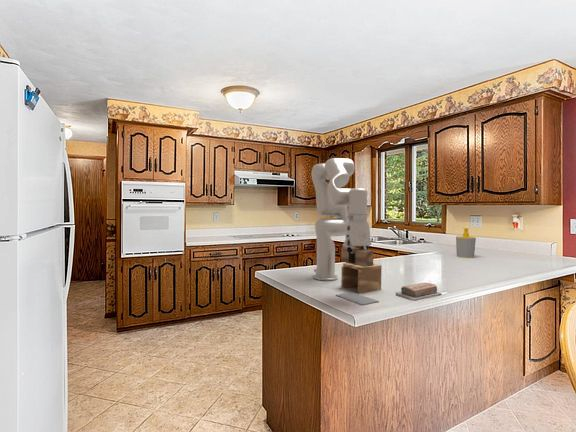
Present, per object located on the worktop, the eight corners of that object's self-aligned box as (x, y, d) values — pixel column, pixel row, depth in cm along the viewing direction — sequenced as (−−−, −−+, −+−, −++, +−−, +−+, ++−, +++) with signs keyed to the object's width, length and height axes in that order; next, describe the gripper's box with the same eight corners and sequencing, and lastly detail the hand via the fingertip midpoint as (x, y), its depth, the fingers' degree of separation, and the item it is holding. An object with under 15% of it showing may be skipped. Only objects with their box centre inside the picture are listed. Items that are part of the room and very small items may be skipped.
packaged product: (422, 280, 160) (441, 285, 151) (422, 290, 160) (441, 296, 151) (395, 285, 150) (414, 290, 142) (394, 296, 151) (413, 302, 142)
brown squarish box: (341, 287, 164) (341, 263, 163) (362, 283, 170) (362, 261, 170) (359, 293, 153) (360, 268, 152) (381, 289, 160) (381, 265, 159)
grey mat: (336, 295, 149) (336, 294, 149) (351, 292, 154) (351, 292, 154) (362, 305, 135) (362, 304, 135) (378, 302, 140) (378, 301, 140)
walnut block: (363, 266, 137) (364, 251, 136) (341, 261, 149) (341, 247, 148) (373, 265, 139) (373, 250, 139) (349, 260, 151) (350, 246, 151)
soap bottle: (477, 256, 257) (478, 228, 256) (472, 258, 248) (473, 229, 247) (458, 254, 266) (459, 227, 265) (452, 256, 257) (453, 228, 256)
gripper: (347, 219, 135) (347, 265, 136) (379, 218, 144) (378, 261, 145) (335, 218, 142) (335, 262, 143) (366, 217, 151) (365, 259, 151)
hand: (357, 261), depth 144 cm, fingers closed on walnut block, 5 cm apart
